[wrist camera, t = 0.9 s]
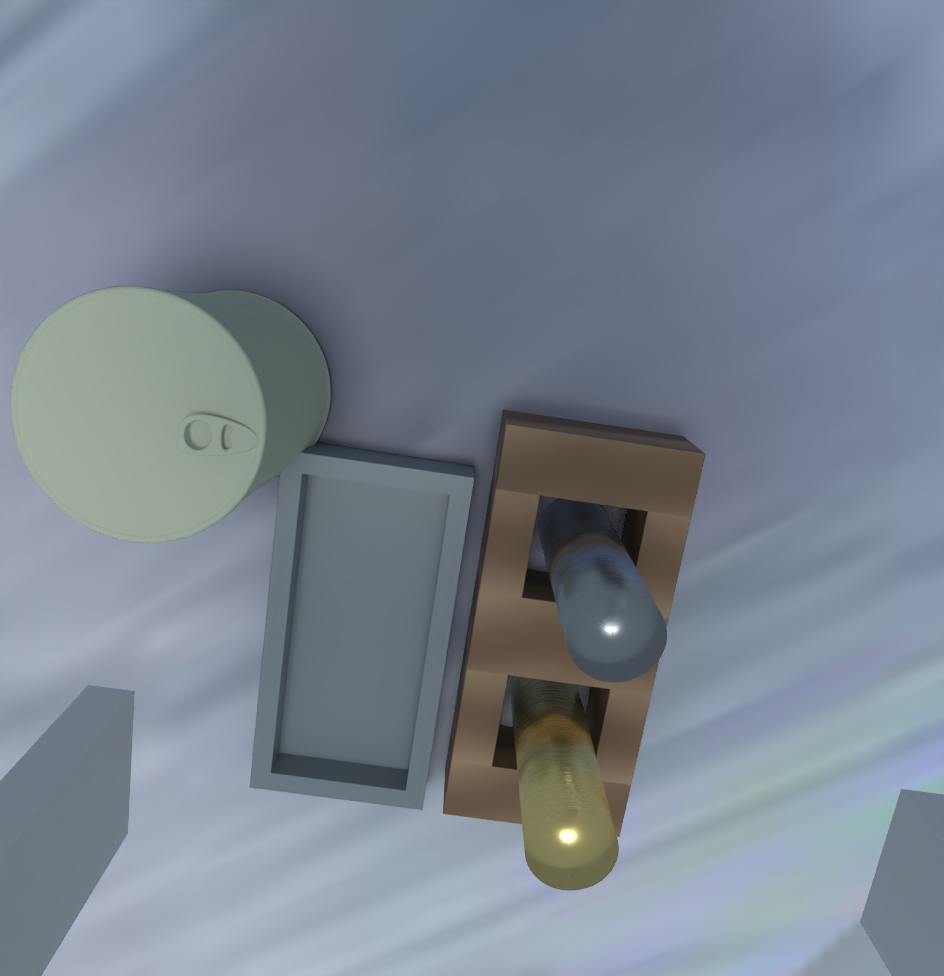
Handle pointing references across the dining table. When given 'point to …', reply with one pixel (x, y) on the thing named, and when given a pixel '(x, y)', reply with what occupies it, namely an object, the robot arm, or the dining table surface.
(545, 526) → the steel pin
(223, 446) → the can
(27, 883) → the robot arm
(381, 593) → the tray
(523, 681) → the brass pin
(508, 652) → the block
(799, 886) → the dining table surface
